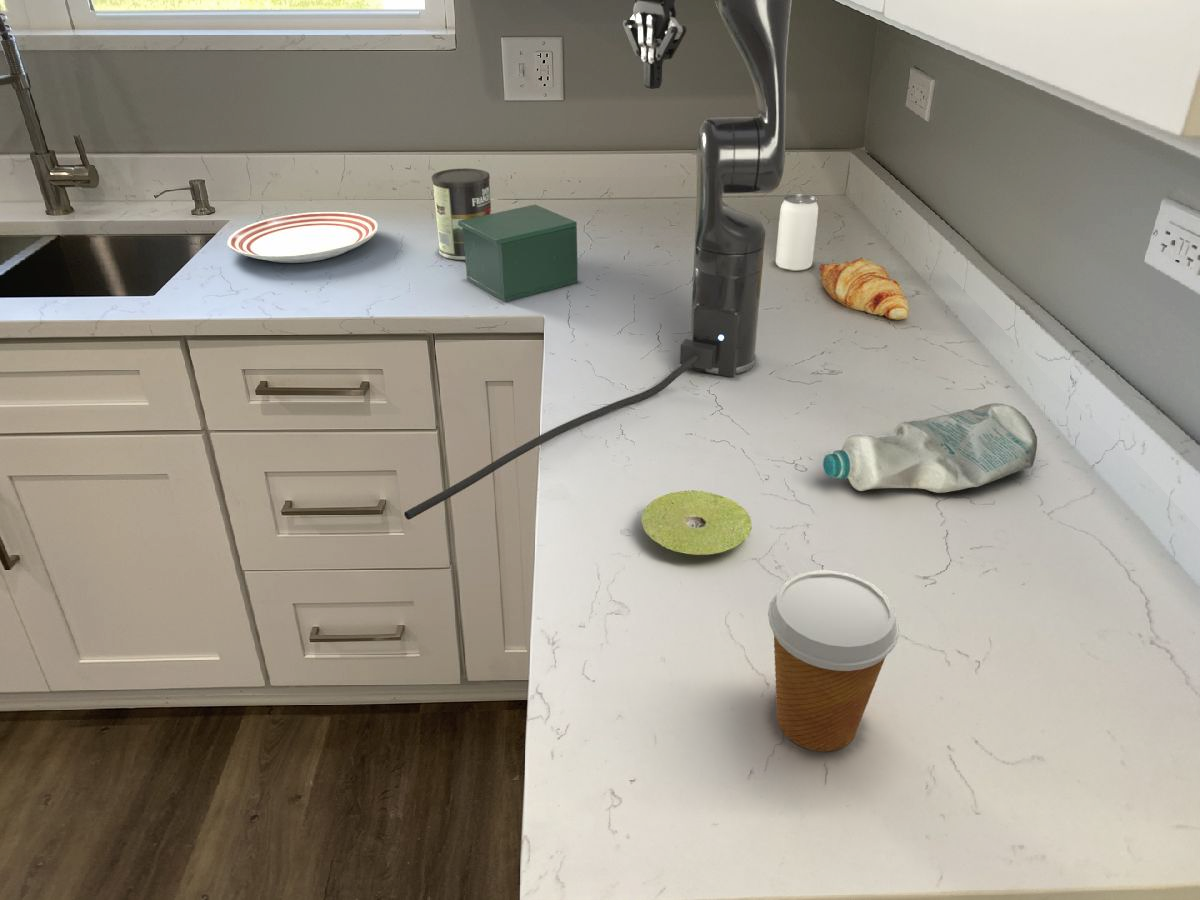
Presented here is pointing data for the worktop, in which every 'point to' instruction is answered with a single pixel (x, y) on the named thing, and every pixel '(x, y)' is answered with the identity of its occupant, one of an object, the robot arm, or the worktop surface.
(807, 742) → the disposable coffee cup
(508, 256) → the caddy
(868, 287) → the croissant
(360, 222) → the dinner plate
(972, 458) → the crushed plastic bottle
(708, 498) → the green disc
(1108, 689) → the worktop surface
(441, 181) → the coffee can
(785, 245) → the can
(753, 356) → the robot arm
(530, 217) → the lid
